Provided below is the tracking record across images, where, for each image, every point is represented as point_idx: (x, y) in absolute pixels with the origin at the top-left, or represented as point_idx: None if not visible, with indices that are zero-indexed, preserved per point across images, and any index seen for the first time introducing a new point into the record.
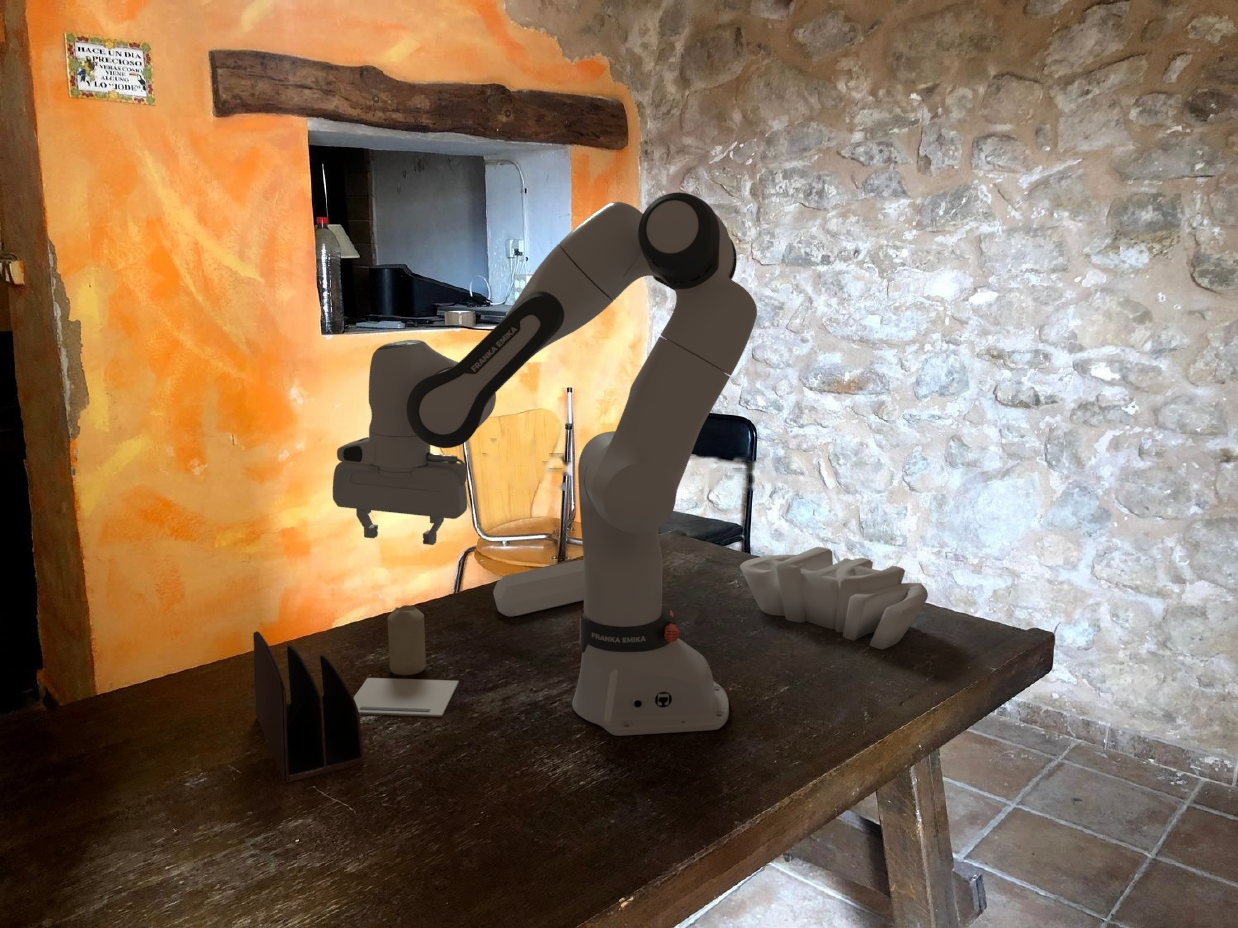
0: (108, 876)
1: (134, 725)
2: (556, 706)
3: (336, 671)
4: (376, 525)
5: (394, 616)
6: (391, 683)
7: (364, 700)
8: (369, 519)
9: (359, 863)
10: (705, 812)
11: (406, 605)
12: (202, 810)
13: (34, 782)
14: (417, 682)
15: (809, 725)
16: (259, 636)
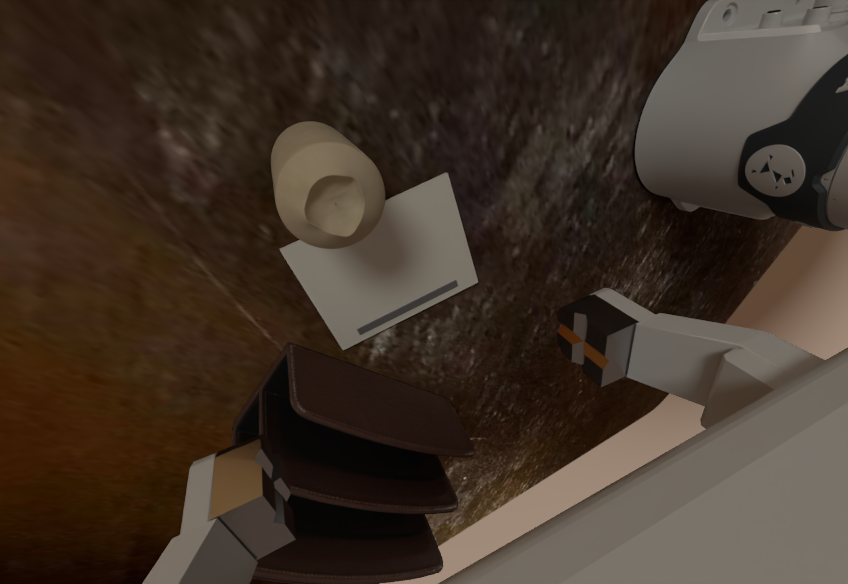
0: None
1: (91, 528)
2: (612, 171)
3: (398, 447)
4: (266, 506)
5: (326, 242)
6: None
7: (344, 312)
8: (197, 582)
9: (519, 461)
10: (737, 284)
11: (318, 179)
12: None
13: None
14: (382, 217)
15: None
16: (287, 581)
